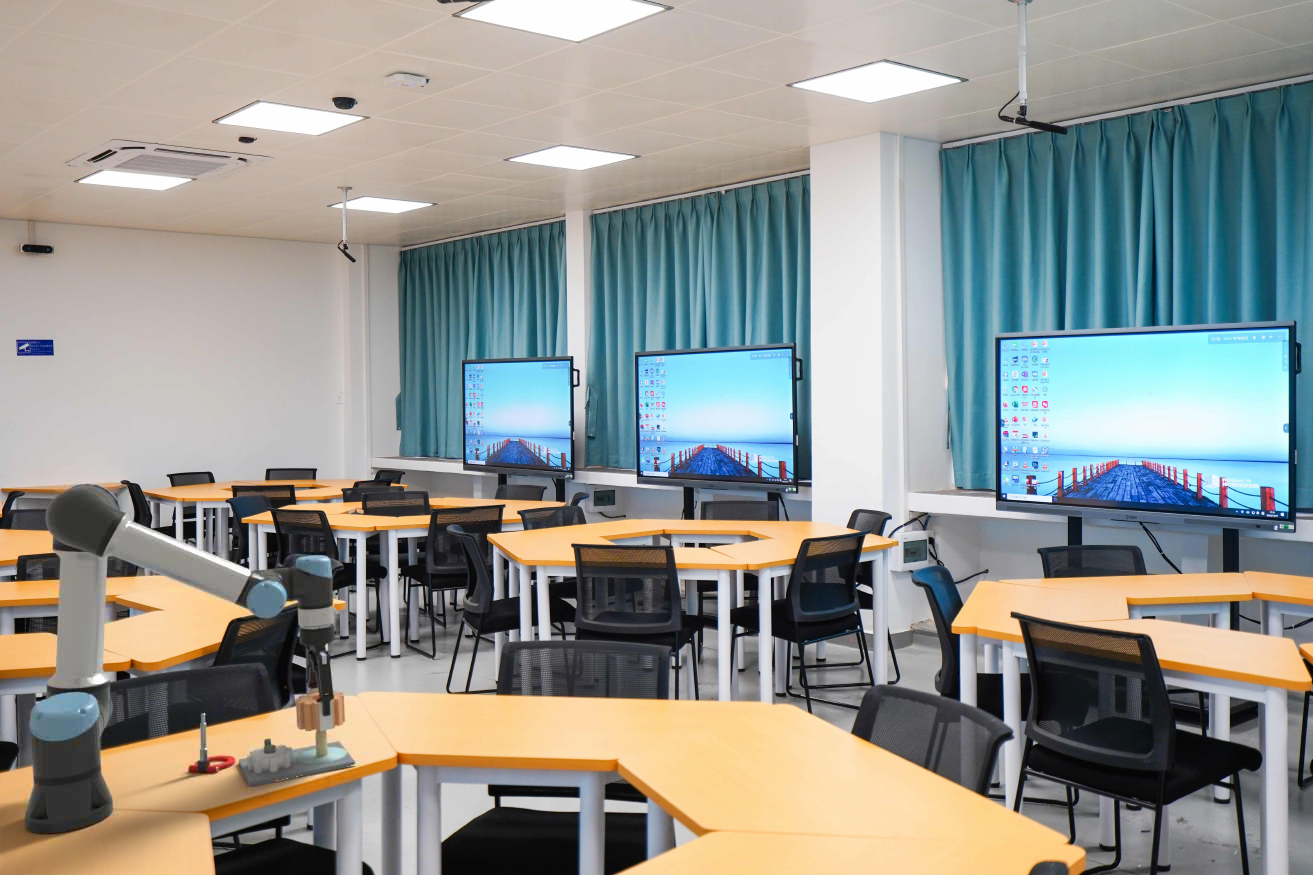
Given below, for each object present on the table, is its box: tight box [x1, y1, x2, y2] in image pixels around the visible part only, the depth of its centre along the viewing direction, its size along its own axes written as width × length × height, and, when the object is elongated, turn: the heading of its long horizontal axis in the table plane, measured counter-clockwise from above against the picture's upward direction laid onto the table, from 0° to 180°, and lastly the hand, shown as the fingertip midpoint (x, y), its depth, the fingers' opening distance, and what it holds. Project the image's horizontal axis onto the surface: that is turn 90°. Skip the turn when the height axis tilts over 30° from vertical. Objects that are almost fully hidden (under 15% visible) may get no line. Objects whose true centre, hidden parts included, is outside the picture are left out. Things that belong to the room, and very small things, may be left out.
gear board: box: [238, 730, 356, 787], centre depth 232 cm, size 22×16×7 cm
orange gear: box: [295, 690, 346, 732], centre depth 234 cm, size 10×10×6 cm
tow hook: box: [187, 712, 236, 774], centre depth 233 cm, size 8×13×9 cm
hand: (321, 722), depth 234 cm, fingers closed on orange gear, 10 cm apart
